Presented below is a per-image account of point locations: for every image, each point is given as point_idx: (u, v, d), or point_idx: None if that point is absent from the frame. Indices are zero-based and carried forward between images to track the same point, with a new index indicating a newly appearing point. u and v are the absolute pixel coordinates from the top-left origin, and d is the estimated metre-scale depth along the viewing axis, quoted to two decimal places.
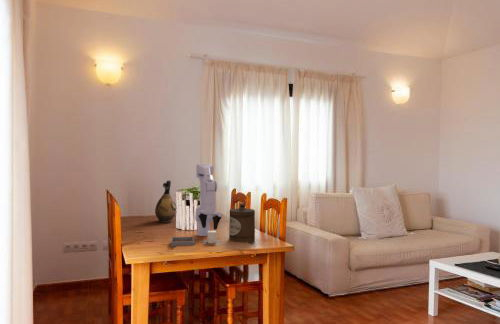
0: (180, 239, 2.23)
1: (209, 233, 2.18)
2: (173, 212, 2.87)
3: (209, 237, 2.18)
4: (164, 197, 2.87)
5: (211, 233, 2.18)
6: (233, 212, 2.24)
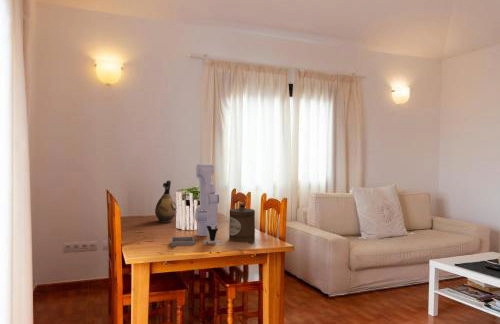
0: (180, 239, 2.23)
1: None
2: (173, 212, 2.87)
3: (209, 237, 2.18)
4: (164, 197, 2.87)
5: None
6: (233, 212, 2.24)
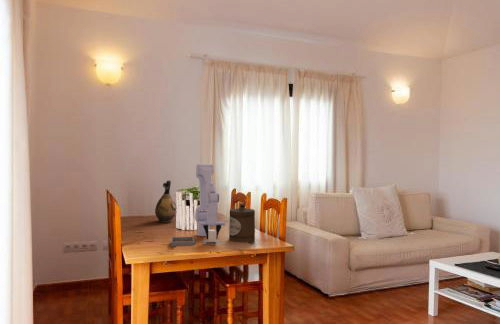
0: (180, 239, 2.23)
1: None
2: (173, 212, 2.87)
3: None
4: (164, 197, 2.87)
5: None
6: (233, 212, 2.24)
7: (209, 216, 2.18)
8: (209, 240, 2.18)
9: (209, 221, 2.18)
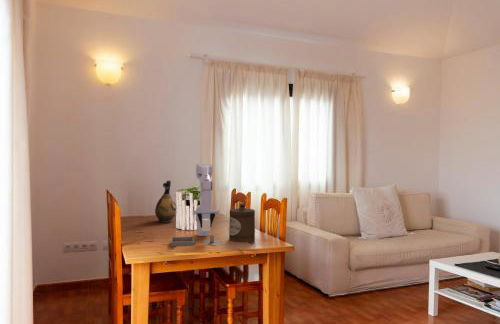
0: (180, 239, 2.23)
1: None
2: (173, 212, 2.87)
3: None
4: (164, 197, 2.87)
5: None
6: (233, 212, 2.24)
7: (203, 204, 2.17)
8: (203, 229, 2.17)
9: (203, 209, 2.17)
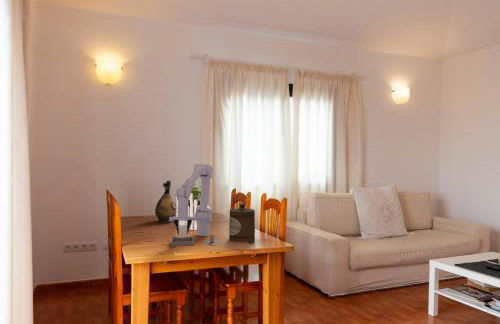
0: (180, 239, 2.23)
1: (186, 227, 2.17)
2: (173, 212, 2.87)
3: (186, 231, 2.17)
4: (164, 197, 2.87)
5: (186, 227, 2.18)
6: (233, 212, 2.24)
7: (179, 211, 2.15)
8: (179, 235, 2.16)
9: (179, 216, 2.15)
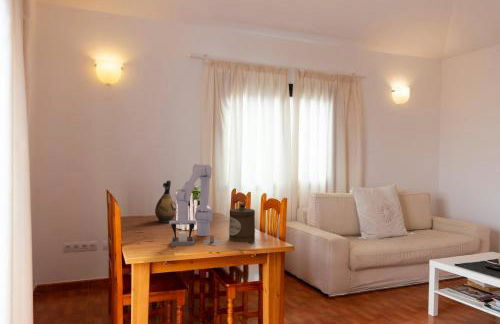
0: None
1: (186, 234, 2.17)
2: (173, 212, 2.87)
3: (186, 238, 2.17)
4: (164, 197, 2.87)
5: (186, 233, 2.18)
6: (233, 212, 2.24)
7: (179, 215, 2.15)
8: None
9: (179, 220, 2.15)
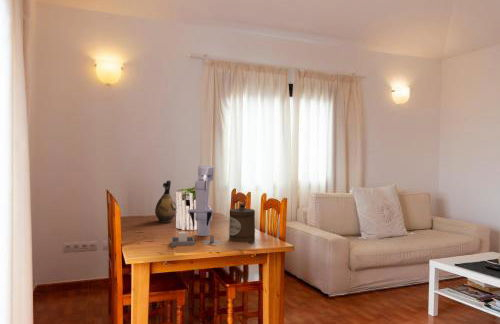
0: None
1: (186, 234, 2.17)
2: (173, 212, 2.87)
3: (186, 238, 2.17)
4: (164, 197, 2.87)
5: (186, 233, 2.18)
6: (233, 212, 2.24)
7: (197, 203, 2.22)
8: None
9: (197, 208, 2.22)
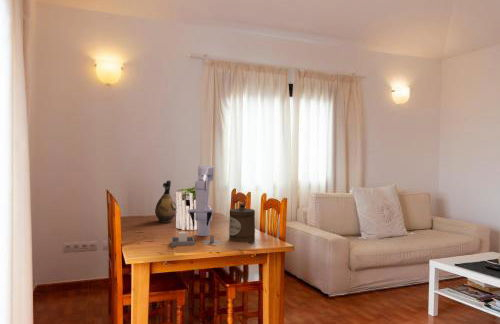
0: None
1: (186, 234, 2.17)
2: (173, 212, 2.87)
3: (186, 238, 2.17)
4: (164, 197, 2.87)
5: (186, 233, 2.18)
6: (233, 212, 2.24)
7: (197, 203, 2.22)
8: None
9: (197, 208, 2.22)
